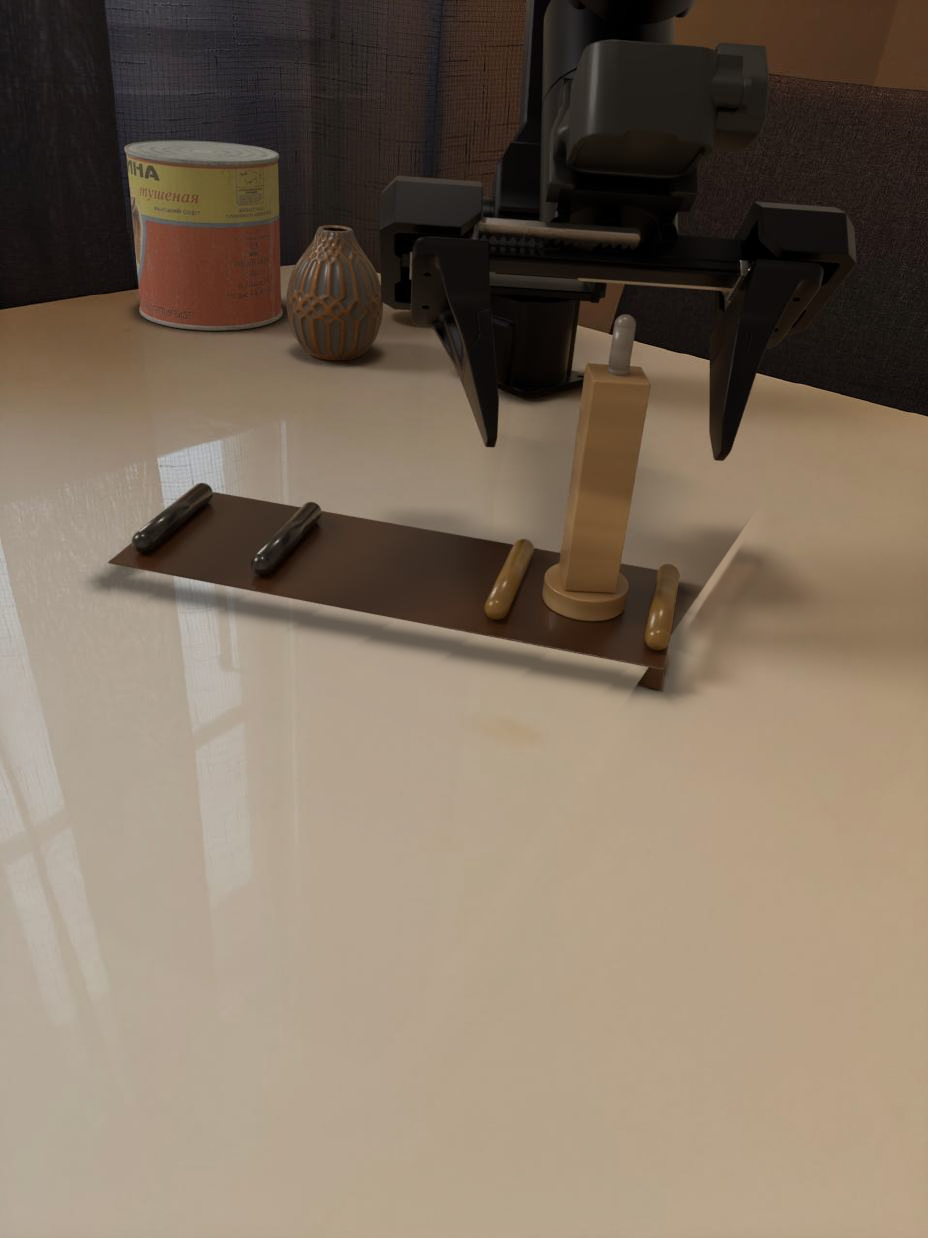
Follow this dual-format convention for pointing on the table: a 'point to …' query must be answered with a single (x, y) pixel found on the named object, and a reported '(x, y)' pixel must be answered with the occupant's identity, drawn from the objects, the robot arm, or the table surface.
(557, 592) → the wooden tall post
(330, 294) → the vase
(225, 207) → the canned food
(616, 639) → the board
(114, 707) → the table surface
